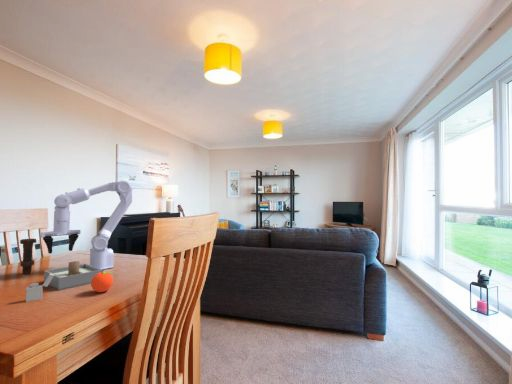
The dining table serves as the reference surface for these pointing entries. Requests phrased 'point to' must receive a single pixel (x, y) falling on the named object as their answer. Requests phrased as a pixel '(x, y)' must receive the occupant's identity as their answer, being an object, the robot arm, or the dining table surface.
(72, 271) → the peg
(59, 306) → the dining table surface
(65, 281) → the bore box
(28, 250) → the bolt
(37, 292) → the lighter
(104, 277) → the clementine
